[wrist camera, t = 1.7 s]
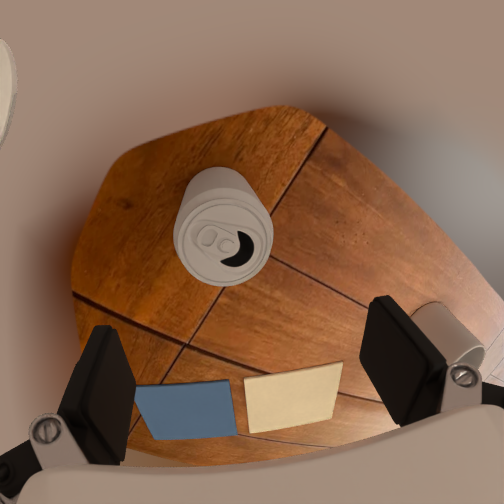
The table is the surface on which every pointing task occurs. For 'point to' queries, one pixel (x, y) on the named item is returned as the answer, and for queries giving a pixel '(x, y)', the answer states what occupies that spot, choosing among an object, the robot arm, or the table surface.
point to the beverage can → (222, 228)
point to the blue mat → (187, 410)
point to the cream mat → (291, 397)
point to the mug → (449, 335)
